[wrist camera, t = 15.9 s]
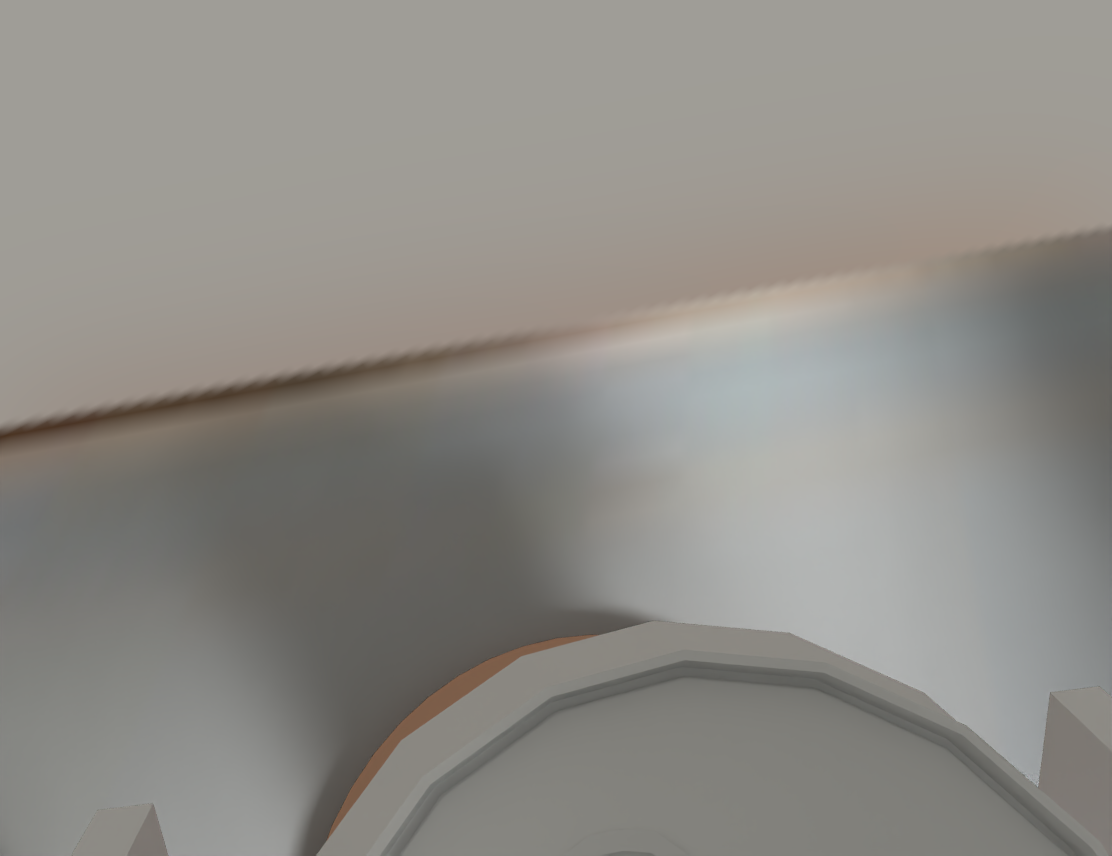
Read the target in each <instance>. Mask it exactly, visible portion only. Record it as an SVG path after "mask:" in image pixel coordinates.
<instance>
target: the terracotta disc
mask: <svg viewBox="0 0 1112 856" xmlns="http://www.w3.org/2000/svg"><path fill="white" fill-rule="evenodd" d="M595 636H598V635H583V636H574V637H564V638H556V639H551V640H547V641H543V642H539V643H535V644H530V645H526V646H522V647H520V648H517V649H515V650H512V651H509V652H507V653H504V654H501V655H499V656H496V657H494V658H491V659H489V660H487V661H485V662H483V663H481V664H480V665H478V666H476V667H474V668H472V669H470V670H468V671H467V672H465V673H463V674H461V675H459V676H457V677H456V678H455V679H453V680H452V681H450V682H449V683H448V684H446V685H445V686H443V687H442V688H441V689H439V690H438V691H436V692H435V693H434V694H432V695H431V696H429V697H428V698H427V699H426V700H425V701H424V702H423V703H422V704H420V705H419V706H418V707H417V708H416V709H415V710H414V711H413V712H412V713H411V714H410V715H408V716H407V717H406V718H405V719H404V720H403V721H402V722H401V723H400V724H399V725H398V726H397V727H396V729H395V730H394V731H393V732H392V733H391V734H390V736H389V737H388V738H387V739H386V740H385V741H384V743H383V744H382V745H381V746H380V747H379V748H378V750H377V751H376V752H375V753H374V755H373V756H372V758H371V759H370V761H369V762H368V764H367V765H366V767H365V768H364V770H363V771H362V773H361V774H360V776H359V777H358V779H357V780H356V782H355V783H354V785H353V786H352V788H351V790H350V792H349V793H348V795H347V797H346V799H345V801H344V803H343V805H342V807H341V809H340V811H339V813H338V815H337V817H336V819H335V821H334V823H333V825H332V827H331V830H330V832H329V835H328V838H329V837H330V836H331V834H332V833H333V832H334V830H335V829H336V828H337V826H338V825H339V824H340V822H341V821H342V820H343V818H344V817H345V816H346V814H347V813H348V811H349V810H350V809H351V807H352V806H353V805H354V803H355V802H356V801H357V799H358V798H359V797H360V795H361V794H362V793H363V791H364V790H365V788H366V787H367V786H368V784H369V783H370V782H371V780H372V779H373V778H374V776H375V775H376V774H377V772H378V771H379V770H380V768H381V767H382V766H383V764H384V763H385V761H386V760H387V759H388V757H389V756H390V755H391V753H392V752H393V751H394V749H395V748H396V747H397V745H398V744H399V743H400V741H401V740H402V739H404V738H405V737H407V736H408V735H409V734H411V733H412V732H414V731H415V730H417V729H418V728H419V727H421V726H422V725H424V724H425V723H427V722H428V721H429V720H431V719H432V718H434V717H435V716H437V715H438V714H439V713H441V712H442V711H444V710H445V709H447V708H448V707H449V706H451V705H452V704H454V703H455V702H457V701H458V700H459V699H461V698H462V697H464V696H465V695H467V694H468V693H469V692H471V691H472V690H474V689H475V688H477V687H478V686H479V685H481V684H482V683H484V682H485V681H487V680H488V679H489V678H491V677H492V676H494V675H495V674H497V673H498V672H499V671H501V670H502V669H504V668H505V667H507V666H508V665H509V664H511V663H512V662H514V661H515V660H517V659H518V658H519V657H521V656H524V655H527V654H531V653H535V652H539V651H542V650H546V649H550V648H554V647H557V646H561V645H565V644H568V643H572V642H576V641H580V640H583V639H587V638H591V637H595ZM328 838H327V840H328ZM327 840H326V841H327Z"/></svg>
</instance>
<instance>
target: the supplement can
mask: <svg viewBox="0 0 1112 856" xmlns="http://www.w3.org/2000/svg"><path fill="white" fill-rule="evenodd" d="M316 856H1109V854H1108V853H1107V851H1106V850H1105V849H1104V847H1103V846H1102V844H1101V843H1100V841H1099V840H1098V839H1097V838H1095V837H1094V836H1093V835H1092V834H1091V833H1090V832H1089V831H1087V830H1086V829H1085V828H1084V827H1083V826H1082V825H1080V824H1079V823H1078V822H1077V821H1076V820H1075V819H1074V818H1072V817H1071V816H1070V815H1069V814H1068V813H1067V812H1065V811H1064V810H1063V809H1062V808H1061V807H1060V806H1059V805H1057V804H1056V803H1055V802H1054V801H1053V800H1052V799H1050V798H1049V797H1048V796H1047V795H1046V794H1045V793H1044V792H1042V791H1041V790H1040V789H1039V788H1038V787H1037V786H1035V785H1034V784H1033V783H1032V782H1031V781H1030V780H1029V779H1027V778H1026V777H1025V776H1024V775H1023V774H1022V773H1021V772H1019V771H1018V770H1017V769H1016V768H1015V767H1014V766H1012V765H1011V764H1010V763H1009V762H1008V761H1007V760H1006V759H1004V758H1003V757H1002V756H1001V755H1000V754H999V753H997V752H996V751H995V750H994V749H993V748H992V747H991V746H989V745H988V744H987V743H986V742H985V741H984V740H982V739H981V738H980V737H979V736H978V735H977V734H976V733H974V732H973V731H972V730H971V729H970V728H969V727H967V726H966V725H964V724H962V723H959V722H957V721H956V720H955V719H954V718H953V717H951V716H950V715H949V714H948V713H947V712H946V711H944V710H943V709H942V708H941V707H940V706H939V705H938V704H936V703H935V702H934V701H933V700H932V699H931V698H929V697H928V696H927V695H926V694H925V693H923V692H921V691H919V690H917V689H914V688H912V687H910V686H908V685H905V684H903V683H901V682H899V681H897V680H894V679H892V678H890V677H888V676H885V675H883V674H881V673H879V672H876V671H874V670H872V669H870V668H867V667H865V666H863V665H861V664H858V663H856V662H854V661H852V660H849V659H847V658H845V657H843V656H840V655H838V654H836V653H834V652H831V651H829V650H827V649H825V648H822V647H820V646H818V645H816V644H813V643H811V642H809V641H807V640H804V639H802V638H800V637H798V636H795V635H793V634H791V633H785V632H774V631H763V630H751V629H740V628H729V627H718V626H707V625H695V624H684V623H673V622H662V621H650V622H647V623H643V624H639V625H636V626H632V627H628V628H624V629H621V630H617V631H613V632H609V633H606V634H602V635H598V636H595V637H591V638H587V639H583V640H580V641H576V642H572V643H568V644H565V645H561V646H557V647H554V648H550V649H546V650H542V651H539V652H535V653H531V654H527V655H524V656H521V657H519V658H518V659H517V660H515V661H514V662H512V663H511V664H509V665H508V666H507V667H505V668H504V669H502V670H501V671H499V672H498V673H497V674H495V675H494V676H492V677H491V678H489V679H488V680H487V681H485V682H484V683H482V684H481V685H479V686H478V687H477V688H475V689H474V690H472V691H471V692H469V693H468V694H467V695H465V696H464V697H462V698H461V699H459V700H458V701H457V702H455V703H454V704H452V705H451V706H449V707H448V708H447V709H445V710H444V711H442V712H441V713H439V714H438V715H437V716H435V717H434V718H432V719H431V720H429V721H428V722H427V723H425V724H424V725H422V726H421V727H419V728H418V729H417V730H415V731H414V732H412V733H411V734H409V735H408V736H407V737H405V738H404V739H402V740H401V741H400V743H399V744H398V745H397V747H396V748H395V749H394V751H393V752H392V753H391V755H390V756H389V757H388V759H387V760H386V761H385V763H384V764H383V766H382V767H381V768H380V770H379V771H378V772H377V774H376V775H375V776H374V778H373V779H372V780H371V782H370V783H369V784H368V786H367V787H366V788H365V790H364V791H363V793H362V794H361V795H360V797H359V798H358V799H357V801H356V802H355V803H354V805H353V806H352V807H351V809H350V810H349V811H348V813H347V814H346V816H345V817H344V818H343V820H342V821H341V822H340V824H339V825H338V826H337V828H336V829H335V830H334V832H333V833H332V834H331V836H330V837H329V838H328V840H327V841H326V843H325V844H324V845H323V847H322V848H321V849H320V851H319V852H318V853H317V855H316Z"/></svg>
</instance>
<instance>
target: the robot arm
mask: <svg viewBox="0 0 1112 856" xmlns="http://www.w3.org/2000/svg"><path fill="white" fill-rule="evenodd" d="M1038 788H1039V789H1040V790H1041V791H1042V792H1044V793H1045V794H1046V795H1047V796H1048V797H1049V798H1050V799H1052V800H1053V801H1054V802H1055V803H1056V804H1057V805H1059V806H1060V807H1061V808H1062V809H1063V810H1064V811H1065V812H1067V813H1068V814H1069V815H1070V816H1071V817H1072V818H1074V819H1075V820H1076V821H1077V822H1078V823H1079V824H1080V825H1082V826H1083V827H1084V828H1085V829H1086V830H1087V831H1089V832H1090V833H1091V834H1092V835H1093V836H1094V837H1095V838H1097V839H1098V840H1099V841H1100V843H1101V844H1102V846H1103V847H1104V849H1105V850H1106V851H1107V853H1108V854H1109V856H1112V697H1111V696H1110V695H1109V694H1108V693H1107V692H1105V691H1104V690H1103V689H1102V688H1101V687H1100V686H1098V687H1090V688H1082V689H1074V690H1066V691H1058V692H1050V698H1049V706H1048V714H1047V722H1046V730H1045V738H1044V746H1043V754H1042V762H1041V770H1040V778H1039V786H1038ZM71 856H168V853H167V849H166V846H165V842H164V839H163V836H162V832H161V829H160V825H159V822H158V818H157V815H156V811H155V808H154V804H153V803H151V804H143V805H135V806H127V807H119V808H111V809H103V810H97V812H96V814H95V815H94V817H93V819H92V821H91V822H90V824H89V826H88V827H87V829H86V831H85V832H84V834H83V836H82V838H81V839H80V841H79V843H78V844H77V846H76V848H75V850H74V851H73V853H72V855H71Z"/></svg>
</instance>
